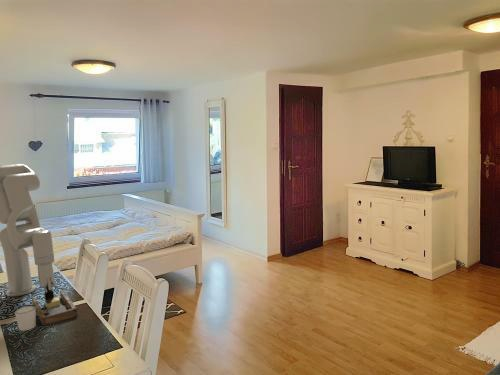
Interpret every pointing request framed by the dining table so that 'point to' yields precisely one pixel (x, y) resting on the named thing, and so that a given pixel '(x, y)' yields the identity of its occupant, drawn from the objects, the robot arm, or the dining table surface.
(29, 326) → the white cylinder
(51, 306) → the yellow square block
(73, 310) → the brown wooden tray
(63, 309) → the counterweight
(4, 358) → the dining table surface
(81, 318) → the dining table surface
